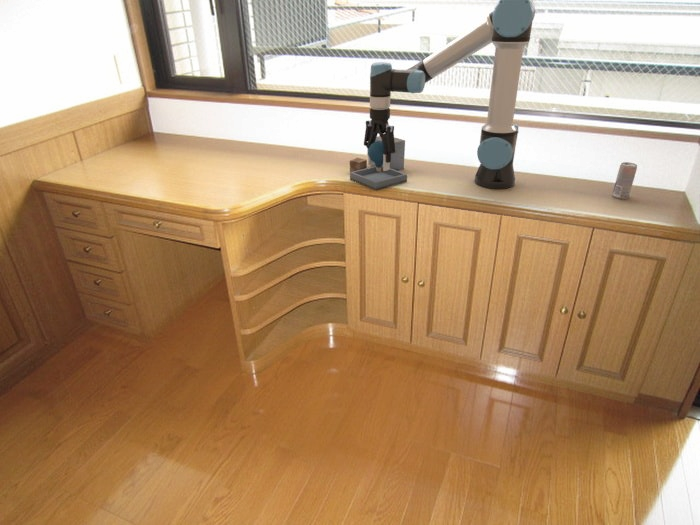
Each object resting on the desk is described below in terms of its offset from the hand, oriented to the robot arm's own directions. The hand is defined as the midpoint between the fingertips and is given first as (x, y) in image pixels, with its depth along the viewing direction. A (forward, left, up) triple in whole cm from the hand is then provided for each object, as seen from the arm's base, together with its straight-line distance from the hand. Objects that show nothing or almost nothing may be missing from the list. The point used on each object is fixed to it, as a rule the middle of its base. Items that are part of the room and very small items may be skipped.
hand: (378, 167), depth 191 cm
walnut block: (+14, -1, -6) cm, 15 cm away
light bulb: (0, 0, -2) cm, 2 cm away
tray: (0, 0, -5) cm, 5 cm away
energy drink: (-68, -57, -6) cm, 89 cm away
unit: (+11, -15, -5) cm, 19 cm away
